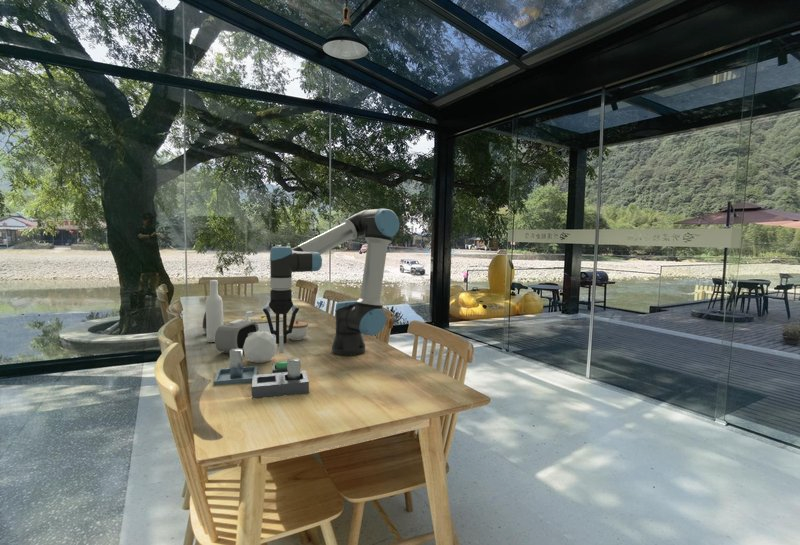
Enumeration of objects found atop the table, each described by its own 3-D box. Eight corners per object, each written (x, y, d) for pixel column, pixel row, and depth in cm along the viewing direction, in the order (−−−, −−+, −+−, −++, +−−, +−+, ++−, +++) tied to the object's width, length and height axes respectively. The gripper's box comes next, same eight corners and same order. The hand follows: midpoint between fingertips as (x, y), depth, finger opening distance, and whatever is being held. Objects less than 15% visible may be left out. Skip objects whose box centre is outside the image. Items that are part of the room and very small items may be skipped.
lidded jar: (305, 341, 208) (305, 322, 207) (283, 341, 208) (283, 322, 207) (310, 336, 218) (310, 318, 217) (289, 336, 218) (289, 318, 218)
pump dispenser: (198, 335, 218) (197, 306, 217) (210, 330, 228) (209, 303, 227) (216, 336, 216) (215, 307, 215) (227, 331, 227) (226, 303, 225)
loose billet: (243, 374, 156) (242, 348, 155) (242, 378, 152) (242, 351, 151) (230, 375, 155) (230, 349, 154) (229, 379, 150) (229, 352, 150)
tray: (257, 371, 162) (257, 365, 162) (256, 383, 149) (256, 377, 148) (218, 374, 158) (218, 368, 158) (213, 387, 145) (213, 381, 144)
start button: (288, 368, 159) (288, 360, 158) (288, 371, 154) (288, 363, 154) (276, 369, 157) (275, 361, 157) (276, 372, 153) (276, 364, 153)
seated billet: (300, 385, 148) (299, 357, 147) (301, 390, 143) (300, 361, 142) (287, 386, 146) (286, 358, 145) (287, 391, 142) (287, 362, 141)
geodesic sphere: (240, 356, 161) (261, 326, 166) (229, 349, 172) (248, 320, 176) (269, 373, 169) (288, 343, 174) (257, 364, 180) (275, 336, 184)
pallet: (305, 381, 152) (305, 370, 151) (308, 393, 140) (308, 381, 140) (253, 386, 146) (253, 374, 146) (252, 399, 135) (251, 386, 135)
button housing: (291, 373, 160) (291, 362, 160) (292, 379, 154) (292, 368, 153) (272, 374, 158) (272, 364, 158) (272, 380, 152) (272, 370, 151)
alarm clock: (235, 357, 181) (234, 326, 180) (215, 355, 182) (214, 325, 181) (259, 344, 201) (259, 317, 200) (241, 343, 203) (240, 316, 201)
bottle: (205, 343, 202) (203, 281, 200) (207, 339, 210) (206, 279, 207) (223, 342, 204) (221, 281, 202) (225, 338, 212) (223, 279, 209)
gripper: (298, 287, 159) (298, 348, 161) (262, 287, 155) (262, 350, 157) (300, 289, 152) (300, 353, 153) (262, 290, 148) (262, 356, 150)
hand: (281, 352), depth 155 cm, fingers closed
